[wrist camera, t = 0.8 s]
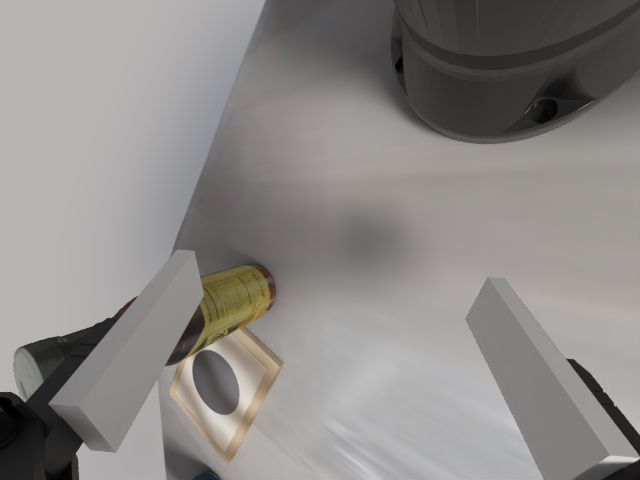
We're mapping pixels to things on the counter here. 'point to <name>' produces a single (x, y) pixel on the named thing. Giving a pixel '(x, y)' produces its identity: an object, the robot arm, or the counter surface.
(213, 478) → the soda can
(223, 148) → the counter surface
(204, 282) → the sauce bottle
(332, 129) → the counter surface
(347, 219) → the counter surface
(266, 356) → the wooden picture frame
